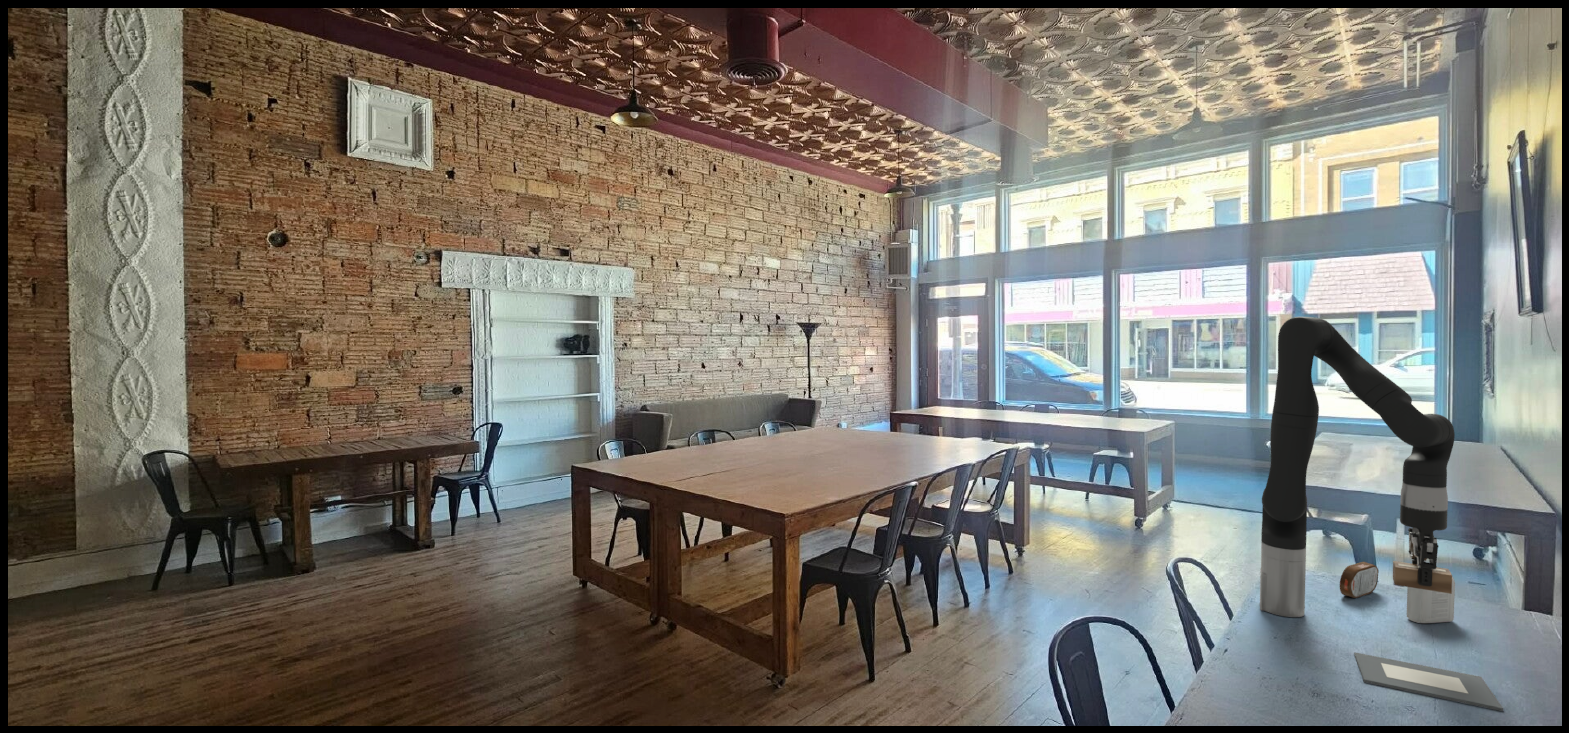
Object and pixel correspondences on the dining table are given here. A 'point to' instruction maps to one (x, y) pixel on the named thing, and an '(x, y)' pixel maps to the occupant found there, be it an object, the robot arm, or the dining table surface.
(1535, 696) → the dining table surface
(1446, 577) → the card box
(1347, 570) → the tin
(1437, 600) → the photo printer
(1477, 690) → the mat
